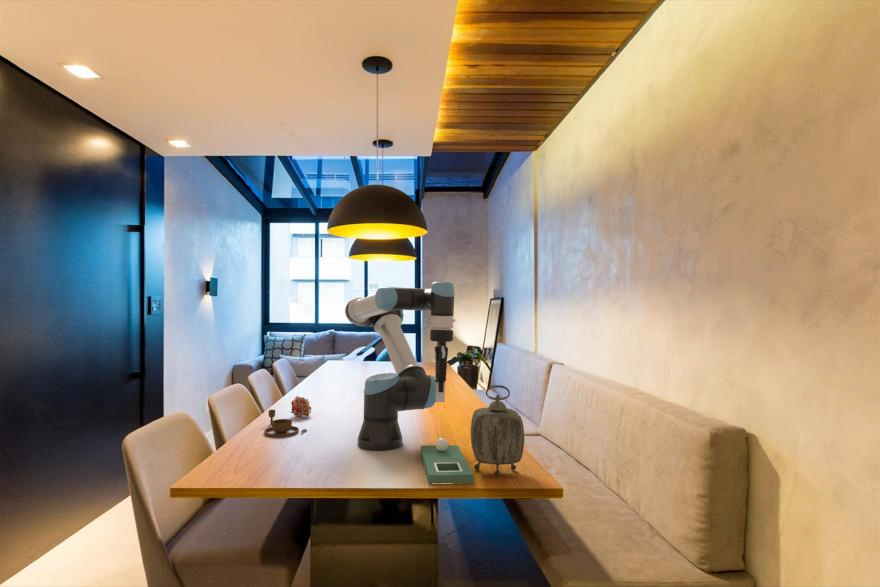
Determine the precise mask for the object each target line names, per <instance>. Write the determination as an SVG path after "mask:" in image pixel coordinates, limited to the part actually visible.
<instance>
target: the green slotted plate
mask: <svg viewBox="0 0 880 587" xmlns="http://www.w3.org/2000/svg"><path fill="white" fill-rule="evenodd" d="M420 457H421V461H422V463H423V464H424V465H423V468H425V469H424V472H426V473H425V477H426V476H427V477H426V479H427V480H428V481H427V484H428V483H429V484H432V483H473V484H474V472H473V471H472V469H471V467H470V466H469V464H468V462H467V460H466V458H465V456H464V455H463V452H462V451H461V449H460V447H459V445H458V444H457V445H456V444H455V445H451V444H450V445H449V444H448V448H447V450H445V451H443V452H441V451H438V450H437V449H436V446H435V445H420Z"/></svg>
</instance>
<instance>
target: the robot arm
mask: <svg viewBox="0 0 880 587" xmlns="http://www.w3.org/2000/svg"><path fill="white" fill-rule="evenodd" d="M454 308H455V284H454V283H453V282H450V281H433V282H432V283H431V286H430V288H421V287H420V288H415V287H399V286H398V287H396V286H381V287H378V288H377V290H376V292H375V293H374V294H370V295H367V296H366V297H356V298H353V299H351V300H349V301H348V302H347V304H346V306H345V309H344V314H345V317H346V318H347V320H348V322H350V323H351V324H353V325H356V326H359V327H373V330H374V331H375V333H376V334H377V335H380V337H381V340H382V341H383V343H384V347H385V349H386V351H387V354H388V357H389V359H390V361H391V364H392V366H393V369H394V371H395V372H389V373H388V372H385V373H378V374H374V375H371V376H369V377H367V378H366V379H365V382H364V389H363V422H362V424H361V427H360V430H359V433H358V436H357V446H358V447H360V448H361V449H365V450H370V451H388V450H389V451H390V450H394V449H398V448H399V447H401V446H402V445H403V435H402V431H401V428H400V424H399V421H398V420H399V419H398V418H399V412H404V411H414V410H415V411H416V410H424V409H429V408H433V406H434V405H435V404H436V403H445V399H446V398H445V397H446V396H445V395H446V393H445V392H446V391H445V390H446V381H447V367H448V366H447V364H448V355H449V353H448V352H449V347H448V346H447V342H448V343H449V342H452V341H453V340H454V331H453V328H454V323H455V322H456V319H455V318H454V311H455V309H454ZM404 311H423V312H427V311H430V318H429V320H430V321H429V322H430V324H429V325H430V326H429V327H430V328H431V329H430V331H429V334H430V335H429V340H430V341H431V342H436V346H434V353H435V354H434V355H435V356H434V358H435V375H431V374H427V372H426V370H425V368H424V367H422V366H421V365H418V363H417V360H416V358H415V356H414V354H413V352H412V350H411V346H410V344H409V343H408V340H407V338H406V337H405V336H406V335H405V334H404V332H403V329H402V324H403V321H404V313H403V312H404Z"/></svg>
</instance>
